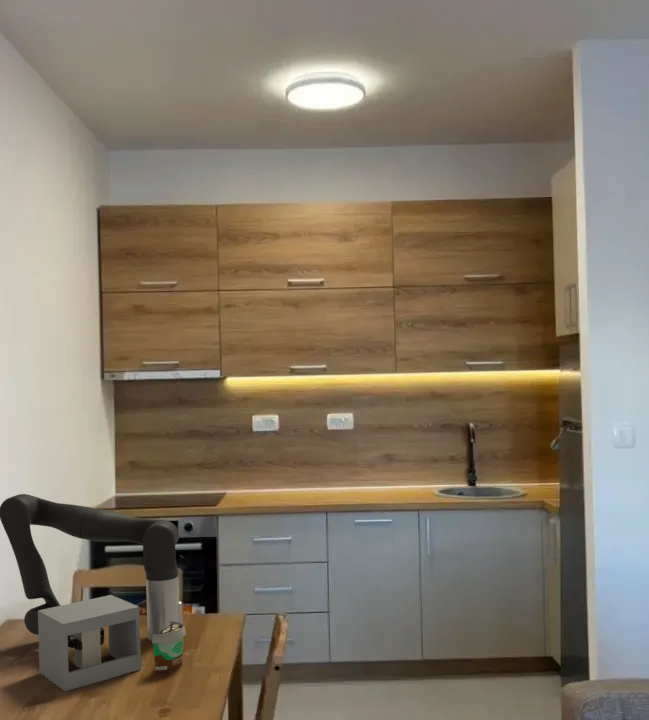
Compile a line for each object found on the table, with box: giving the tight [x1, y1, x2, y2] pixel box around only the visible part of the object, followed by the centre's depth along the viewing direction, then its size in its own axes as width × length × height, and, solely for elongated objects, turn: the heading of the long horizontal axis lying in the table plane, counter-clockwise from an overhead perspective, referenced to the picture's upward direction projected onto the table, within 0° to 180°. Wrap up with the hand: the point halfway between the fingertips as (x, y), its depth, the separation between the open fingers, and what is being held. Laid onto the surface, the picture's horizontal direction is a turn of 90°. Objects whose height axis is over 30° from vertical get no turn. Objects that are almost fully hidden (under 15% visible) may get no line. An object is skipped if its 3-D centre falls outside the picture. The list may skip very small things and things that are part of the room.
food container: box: [151, 621, 187, 674], centre depth 201 cm, size 12×6×10 cm, turn 168°
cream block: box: [73, 628, 102, 669], centre depth 201 cm, size 5×5×10 cm
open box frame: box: [38, 594, 142, 692], centre depth 200 cm, size 20×17×16 cm
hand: (91, 643), depth 199 cm, fingers closed on cream block, 5 cm apart
